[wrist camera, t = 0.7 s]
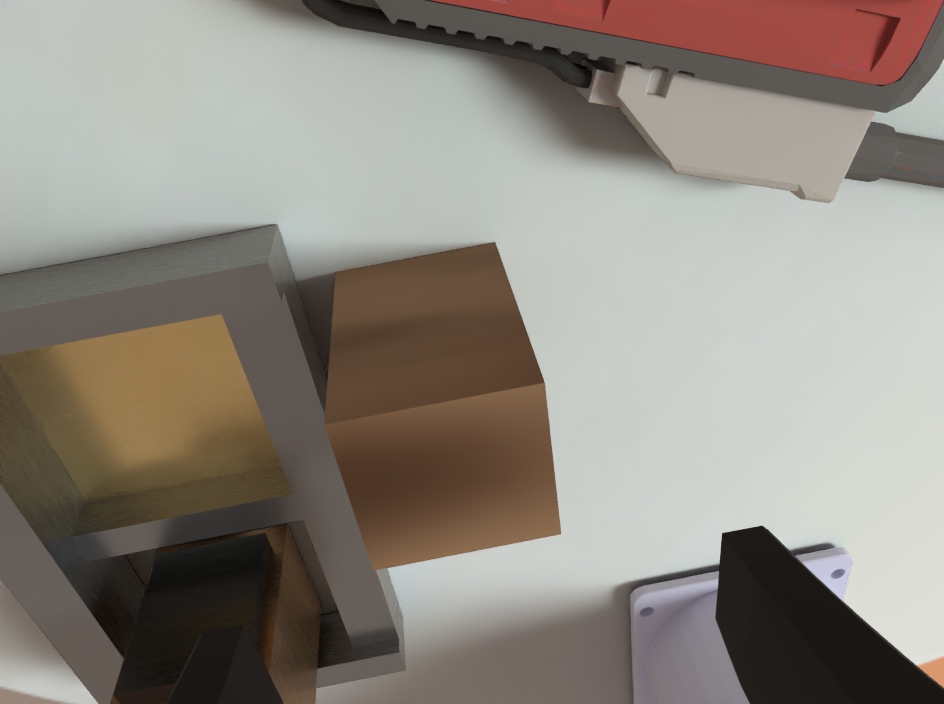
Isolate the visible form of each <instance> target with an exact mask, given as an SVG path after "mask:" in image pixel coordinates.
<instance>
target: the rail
mask: <svg viewBox="0 0 944 704" xmlns="http://www.w3.org/2000/svg"><path fill="white" fill-rule="evenodd" d="M326 395H327V378H326V375H325V372H324V369H323V366H322V363H321V360H320V356H319V353H318V350H317V347H316V344H315V341H314V338H313V334H312V331H311V328H310V325H309V322H308V319H307V316H306V312H305V309H304V306H303V303H302V300H301V297H300V294H299V290H298V287H297V284H296V281H295V278H294V275H293V272H292V268H291V265H290V262H289V259H288V256H287V253H286V250H285V246H284V243H283V240H282V237H281V234H280V231H279V228H278V224H277V225H272V226H266V227H261V228H255V229H250V230H245V231H239V232H234V233H228V234H223V235H218V236H212V237H207V238H201V239H196V240H190V241H185V242H180V243H174V244H169V245H163V246H158V247H153V248H147V249H142V250H136V251H131V252H125V253H120V254H115V255H109V256H104V257H98V258H93V259H88V260H82V261H77V262H71V263H66V264H60V265H55V266H50V267H44V268H39V269H33V270H28V271H23V272H17V273H12V274H6V275H1V276H0V578H1V580H2V581H3V582H4V583H5V585H6V586H7V587H8V588H9V590H10V591H11V592H12V594H13V595H14V596H15V597H16V599H17V600H18V601H19V603H20V604H21V605H22V606H23V608H24V609H25V610H26V612H27V613H28V614H29V615H30V617H31V618H32V619H33V620H34V622H35V623H36V624H37V626H38V627H39V628H40V629H41V631H42V632H43V633H44V635H45V636H46V637H47V638H48V640H49V641H50V642H51V644H52V645H53V646H54V647H55V649H56V650H57V651H58V652H59V654H60V655H61V656H62V658H63V659H64V660H65V661H66V663H67V664H68V665H69V667H70V668H71V669H72V670H73V672H74V673H75V674H76V675H77V677H78V678H79V679H80V681H81V682H82V683H83V684H84V686H85V687H86V688H87V690H88V691H89V692H90V693H91V695H92V696H93V697H94V699H95V700H96V701H97V702H98V704H165V703H166V701H167V699H168V698H169V696H170V694H171V692H172V690H173V688H174V686H175V684H176V682H177V680H178V678H179V676H180V674H181V672H182V670H183V668H184V666H185V664H186V662H187V660H188V658H189V656H190V654H191V652H192V650H193V648H194V646H195V644H196V642H197V640H198V638H199V637H200V636H201V634H202V633H203V632H207V631H212V630H218V629H223V628H228V627H233V626H239V625H245V627H246V629H247V631H248V633H249V635H250V637H251V639H252V641H253V643H254V645H255V647H256V649H257V651H258V653H259V655H260V657H261V659H262V661H263V663H264V665H265V667H266V669H267V671H268V673H269V674H270V676H271V678H272V680H273V682H274V684H275V686H276V688H277V690H278V692H279V694H280V696H281V698H282V700H283V704H315V698H316V688H320V687H325V686H330V685H335V684H340V683H345V682H350V681H355V680H360V679H365V678H370V677H375V676H380V675H385V674H390V673H395V672H400V671H405V670H406V669H405V650H404V630H403V617H402V614H401V611H400V608H399V605H398V601H397V598H396V595H395V592H394V589H393V586H392V583H391V579H390V576H389V573H388V570H387V568H385V569H380V570H375V571H373V568H372V565H371V562H370V559H369V556H368V553H367V550H366V547H365V545H364V542H363V539H362V536H361V533H360V530H359V527H358V524H357V521H356V518H355V515H354V512H353V509H352V506H351V503H350V500H349V497H348V494H347V491H346V488H345V485H344V482H343V479H342V476H341V473H340V470H339V467H338V464H337V461H336V458H335V455H334V452H333V449H332V446H331V443H330V440H329V437H328V434H327V431H326V428H325V425H324V422H325V409H326ZM299 520H303V522H304V524H305V527H306V529H307V532H308V534H309V537H310V540H311V542H312V545H313V547H314V550H315V552H316V555H317V557H318V560H319V562H320V565H321V567H322V570H323V572H324V575H325V578H326V580H327V583H328V585H329V588H330V590H331V593H332V595H333V598H334V600H335V603H336V605H337V608H338V610H339V612H335V613H330V614H325V615H320V614H321V604H320V602H319V599H318V597H317V594H316V592H315V590H314V587H313V585H312V582H311V580H310V578H309V575H308V573H307V570H306V568H305V565H304V563H303V561H302V558H301V556H300V553H299V551H298V549H297V546H296V544H295V541H294V539H293V536H292V534H291V532H290V529H289V527H288V524H284V523H289V522H294V521H299ZM279 524H284V525H279ZM274 525H279V526H274ZM268 526H274V527H268ZM263 527H268V528H263ZM258 528H263V529H258ZM253 529H258V530H253ZM248 530H253V531H248ZM243 531H248V532H243ZM238 532H243V533H238ZM232 533H237V534H232ZM227 534H232V535H227ZM222 535H227V536H222ZM217 536H222V537H217ZM212 537H217V538H212ZM207 538H212V539H207ZM201 539H207V540H201ZM196 540H201V541H196ZM191 541H196V542H191ZM186 542H191V543H186ZM181 543H186V544H181ZM176 544H181V545H176ZM171 545H176V546H171ZM165 546H170V547H165ZM160 547H165V548H160ZM155 548H160V549H157V552H156V556H155V559H154V562H153V565H152V569H151V572H150V575H149V578H148V582H147V585H146V588H145V587H144V586H143V584H142V582H141V581H140V579H139V577H138V576H137V574H136V573H135V571H134V569H133V568H132V566H131V564H130V563H129V561H128V560H127V558H126V556H125V555H124V554H129V553H134V552H140V551H145V550H150V549H155Z"/></svg>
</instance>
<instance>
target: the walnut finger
mask: <svg viewBox="0 0 944 704" xmlns="http://www.w3.org/2000/svg"><path fill="white" fill-rule="evenodd" d="M324 425H325V428H326V431H327V434H328V437H329V440H330V443H331V446H332V449H333V452H334V455H335V458H336V461H337V464H338V467H339V470H340V473H341V476H342V479H343V482H344V485H345V488H346V491H347V494H348V497H349V500H350V503H351V506H352V509H353V512H354V515H355V518H356V521H357V524H358V527H359V530H360V533H361V536H362V539H363V542H364V545H365V547H366V550H367V553H368V556H369V559H370V562H371V565H372V568H373V571H375V570H380V569H385V568H390V567H395V566H400V565H406V564H411V563H416V562H421V561H426V560H431V559H436V558H441V557H446V556H452V555H457V554H462V553H467V552H472V551H477V550H482V549H487V548H492V547H498V546H503V545H508V544H513V543H518V542H523V541H528V540H533V539H538V538H544V537H549V536H554V535H559V534H561V528H560V519H559V510H558V501H557V491H556V482H555V473H554V464H553V455H552V446H551V436H550V427H549V418H548V409H547V400H546V391H545V382H544V380H543V377H542V374H541V371H540V368H539V365H538V363H537V360H536V357H535V354H534V351H533V348H532V346H531V343H530V340H529V337H528V334H527V331H526V328H525V326H524V323H523V320H522V317H521V314H520V311H519V309H518V306H517V303H516V300H515V297H514V294H513V292H512V289H511V286H510V283H509V280H508V277H507V275H506V272H505V269H504V266H503V263H502V260H501V258H500V255H499V252H498V249H497V246H496V243H495V242H494V243H488V244H483V245H478V246H472V247H467V248H462V249H456V250H451V251H446V252H440V253H435V254H430V255H424V256H419V257H413V258H408V259H403V260H397V261H392V262H387V263H381V264H376V265H371V266H365V267H360V268H354V269H349V270H344V271H338V272H336V274H335V287H334V301H333V314H332V328H331V341H330V355H329V368H328V382H327V395H326V409H325V422H324Z"/></svg>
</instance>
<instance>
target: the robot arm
mask: <svg viewBox="0 0 944 704" xmlns="http://www.w3.org/2000/svg"><path fill="white" fill-rule="evenodd" d="M852 562H853V559H852V556H851V555H850V554H849V552H848V551H847V550H846V549H845V548H841V547H838V548H831V549H826V550H821V551H816V552H811V553H806V554H801V555H796V556H794V555H793V554H792V553H791V552H790V551H789V550H788V549H787V548H786V547H785V546H784V545H783V544H782V543H781V542H780V541H779V540H778V539H777V538H776V537H775V536H774V535H773V534H772V533H771V532H770V531H769V530H768V529H766V528H765V527H763V526H758V527H753V528H748V529H742V530H737V531H732V532H727V533H722V542H721V554H720V566H719V571H715V572H710V573H705V574H700V575H695V576H690V577H685V578H680V579H675V580H670V581H665V582H660V583H655V584H650V585H645V586H641V587H638V588H637V589H635V590H634V591H633V592H632V593H631V595H630V616H631V645H632V675H633V704H944V688H943V687H942V686H941V685H939V684H938V683H937V682H936V681H934V680H933V679H932V678H931V677H929V676H928V675H927V674H926V673H924V672H923V671H922V670H921V669H920V668H919V667H917V666H916V665H915V664H914V663H913V662H912V661H910V660H909V659H908V658H907V657H906V656H904V655H903V654H902V653H901V652H900V651H899V650H897V649H896V648H895V647H894V646H893V645H892V644H891V643H889V642H888V641H887V640H886V639H885V638H884V637H883V636H881V635H880V634H879V633H878V632H877V631H876V630H875V629H873V628H872V627H871V626H870V625H869V624H868V623H866V622H865V621H864V620H863V619H862V618H861V617H860V616H859V615H857V614H856V613H855V612H854V611H853V610H852V609H851V608H850V607H849V606H848V605H846V604H845V603H844V602H843V601H844V597H845V593H846V588H847V584H848V579H849V575H850V570H851V566H852ZM165 704H283V700H282V698H281V696H280V694H279V692H278V690H277V688H276V686H275V684H274V682H273V680H272V678H271V676H270V674H269V673H268V671H267V669H266V667H265V665H264V663H263V661H262V659H261V657H260V655H259V653H258V651H257V649H256V647H255V645H254V643H253V641H252V639H251V637H250V635H249V633H248V631H247V629H246V627H245V625H239V626H233V627H228V628H223V629H218V630H212V631H207V632H203V633H202V634H201V636H200V637H199V638H198V640H197V642H196V644H195V646H194V648H193V650H192V652H191V654H190V656H189V658H188V660H187V662H186V664H185V666H184V668H183V670H182V672H181V674H180V676H179V678H178V680H177V682H176V684H175V686H174V688H173V690H172V692H171V694H170V696H169V698H168V699H167V701H166V703H165Z"/></svg>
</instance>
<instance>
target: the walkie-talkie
mask: <svg viewBox="0 0 944 704" xmlns="http://www.w3.org/2000/svg"><path fill="white" fill-rule="evenodd" d="M374 1H375V2H376V3H377V4H378V6H379V7H380V8H381V9H376V8H370V7H365V6H359V5H354V4H349V3H346V2H344V1H341V0H302V2H303V4H304V5H305V6H306V7H307V8H308V9H310V10H311V11H312V12H313V13H314V14H316V15H318V16H320V17H322V18H324V19H326V20H328V21H330V22H332V23H334V24H336V25H338V26H341V27H347V28H353V29H358V30H364V31H370V32H375V33H381V34H387V35H392V36H398V37H404V38H409V39H415V40H421V41H426V42H432V43H438V44H443V45H449V46H455V47H460V48H466V49H472V50H477V51H483V52H488V53H494V54H498V55H503V56H508V57H513V58H517V59H522V60H527V61H531V62H536V63H540V64H542V65H544V66H546V67H547V68H549V69H551V70H552V71H553V72H554V73H555V74H556V75H557V76H559V77H560V78H561V79H562V80H563V81H564V82H567V83H569V84H572V85H575V86H576V90H577V91H578V92H579V93H580V94H581V95H582V96H583V97H584V98H585V99H586V100H587V101H588V102H591V103H597V104H603V105H609V106H614V107H619V109H620V110H621V111H622V112H623V114H624V115H625V116H626V117H627V119H628V120H629V121H630V122H631V124H632V125H633V126H634V128H635V129H636V130H637V131H638V133H639V134H640V135H641V136H642V138H643V139H644V140H645V142H646V143H647V144H648V145H649V146H650V148H651V149H652V150H653V151H654V152H655V153H656V154H657V155H658V156H659V157H660V158H661V159H662V160H663V161H664V162H665V163H666V164H667V165H668V166H670V167H671V168H672V169H673V170H674V171H675V172H676V173H680V174H687V175H693V176H699V177H706V178H712V179H718V180H725V181H731V182H738V183H744V184H750V185H757V186H763V187H769V188H776V189H782V190H788V191H790V192H792V193H793V194H794V195H796V196H797V197H798V198H800V199H804V200H811V201H818V202H825V203H830V202H831V201H833V200H834V198H835V196H836V194H837V192H838V190H839V188H840V186H841V184H842V182H843V179H844V178H846V179H853V180H859V181H866V182H870V181H876V180H878V179H879V178H886V179H892V180H898V181H904V182H911V183H917V184H923V185H930V186H936V187H942V188H944V141H942V140H937V139H931V138H925V137H920V136H914V135H908V134H903V133H897V132H895V130H894V128H893V127H891V126H888V125H886V124H881V123H876V122H871V120H872V118H873V116H874V114H875V112H876V111H878V112H883V113H887V112H889V111H891V110H893V109H896V108H898V107H900V106H902V105H904V104H906V103H908V102H911V101H912V100H913V98H914V97H915V96H916V95H917V94H918V93H919V92H920V90H921V89H922V88H923V87H924V86H925V85H926V84H927V83H928V81H929V80H930V79H931V78H932V77H933V75H934V74H935V73H936V71H937V70H938V69H939V67H940V65H941V63H942V61H943V59H944V0H374ZM572 51H576V52H581V53H582V54H583V55H585V56H586V57H587V58H588V59H585V58H583V61H582V65H579V64H575V63H572V62H571V61H570V60H569V59H568V58H567V57H566V56H565V55H569V54H570V53H571V52H572ZM563 54H564V55H563ZM591 59H592V60H591Z"/></svg>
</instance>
